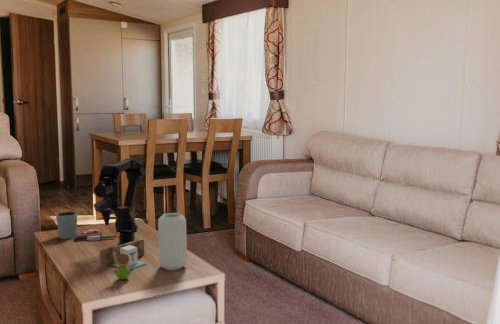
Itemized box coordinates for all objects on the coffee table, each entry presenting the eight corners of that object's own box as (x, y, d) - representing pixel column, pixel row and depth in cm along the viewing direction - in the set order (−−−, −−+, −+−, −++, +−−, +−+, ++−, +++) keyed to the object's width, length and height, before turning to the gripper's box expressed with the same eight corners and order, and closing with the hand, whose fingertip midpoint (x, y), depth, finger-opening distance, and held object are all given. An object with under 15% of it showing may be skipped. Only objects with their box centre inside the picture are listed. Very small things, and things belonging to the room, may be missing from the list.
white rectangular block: (130, 261, 216) (129, 245, 215) (137, 263, 213) (137, 247, 212) (120, 264, 212) (120, 247, 211) (128, 266, 209) (127, 250, 208)
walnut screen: (142, 253, 227) (141, 238, 227) (144, 254, 227) (143, 239, 226) (100, 266, 211) (99, 250, 210) (102, 267, 210) (101, 251, 209)
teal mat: (131, 259, 220) (131, 258, 220) (146, 264, 213) (146, 263, 213) (112, 265, 212) (112, 264, 212) (127, 270, 206) (127, 269, 206)
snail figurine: (114, 276, 199) (113, 247, 197) (131, 276, 199) (130, 247, 198) (112, 282, 194) (111, 251, 192) (129, 281, 194) (128, 251, 192)
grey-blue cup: (74, 239, 250) (72, 215, 248) (53, 239, 250) (52, 215, 248) (81, 233, 260) (80, 211, 258) (61, 233, 260) (60, 210, 258)
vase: (186, 261, 217) (185, 211, 214) (187, 271, 206) (186, 217, 203) (159, 263, 215) (157, 212, 212) (158, 272, 204) (157, 218, 201)
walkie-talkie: (73, 243, 245) (116, 239, 251) (73, 234, 244) (116, 230, 250) (74, 238, 253) (115, 234, 259) (74, 229, 253) (115, 226, 259)
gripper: (84, 193, 225) (85, 227, 227) (109, 198, 213) (110, 234, 215) (105, 189, 234) (106, 222, 236) (130, 194, 222) (131, 229, 224)
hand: (113, 227), depth 228 cm, fingers open, 9 cm apart
